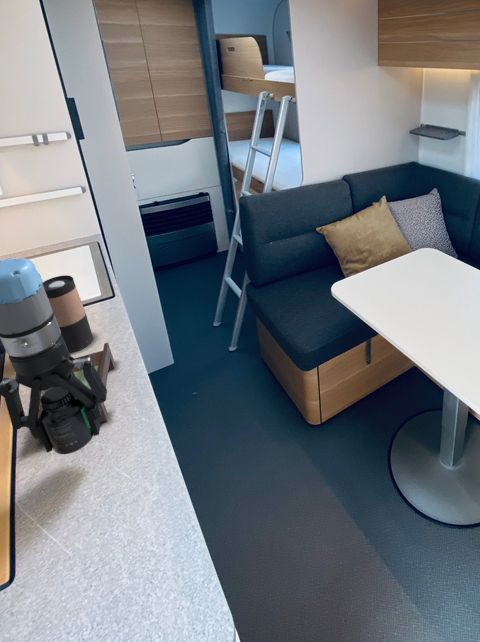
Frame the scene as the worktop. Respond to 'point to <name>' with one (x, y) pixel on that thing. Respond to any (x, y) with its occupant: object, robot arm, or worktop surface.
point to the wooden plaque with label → (102, 365)
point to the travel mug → (68, 312)
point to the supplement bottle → (65, 421)
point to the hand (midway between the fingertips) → (74, 437)
